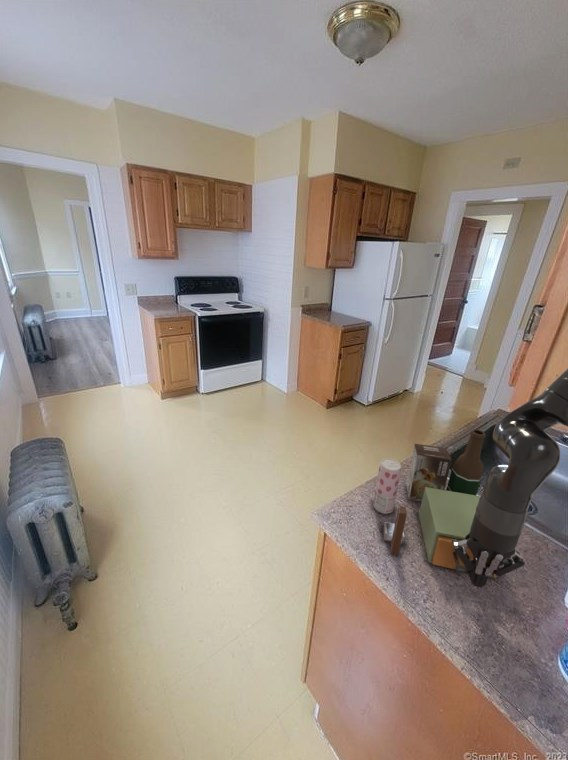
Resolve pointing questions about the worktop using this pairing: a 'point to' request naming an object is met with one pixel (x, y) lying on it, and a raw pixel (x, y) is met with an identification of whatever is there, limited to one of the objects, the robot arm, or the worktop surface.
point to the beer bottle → (468, 467)
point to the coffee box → (427, 470)
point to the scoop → (395, 530)
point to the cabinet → (445, 516)
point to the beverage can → (387, 485)
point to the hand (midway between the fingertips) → (476, 583)
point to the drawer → (451, 556)
